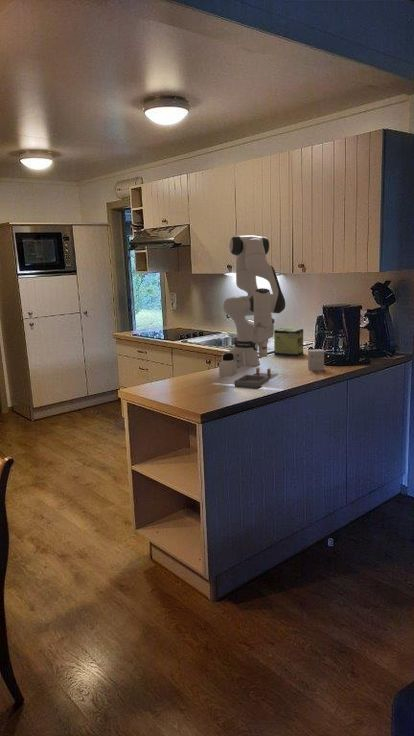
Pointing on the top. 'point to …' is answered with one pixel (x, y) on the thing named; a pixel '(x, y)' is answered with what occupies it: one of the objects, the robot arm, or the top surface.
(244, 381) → the tray
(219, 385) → the top surface
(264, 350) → the fuse
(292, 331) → the protein box
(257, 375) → the clip holder
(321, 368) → the small box
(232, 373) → the medicine bottle
